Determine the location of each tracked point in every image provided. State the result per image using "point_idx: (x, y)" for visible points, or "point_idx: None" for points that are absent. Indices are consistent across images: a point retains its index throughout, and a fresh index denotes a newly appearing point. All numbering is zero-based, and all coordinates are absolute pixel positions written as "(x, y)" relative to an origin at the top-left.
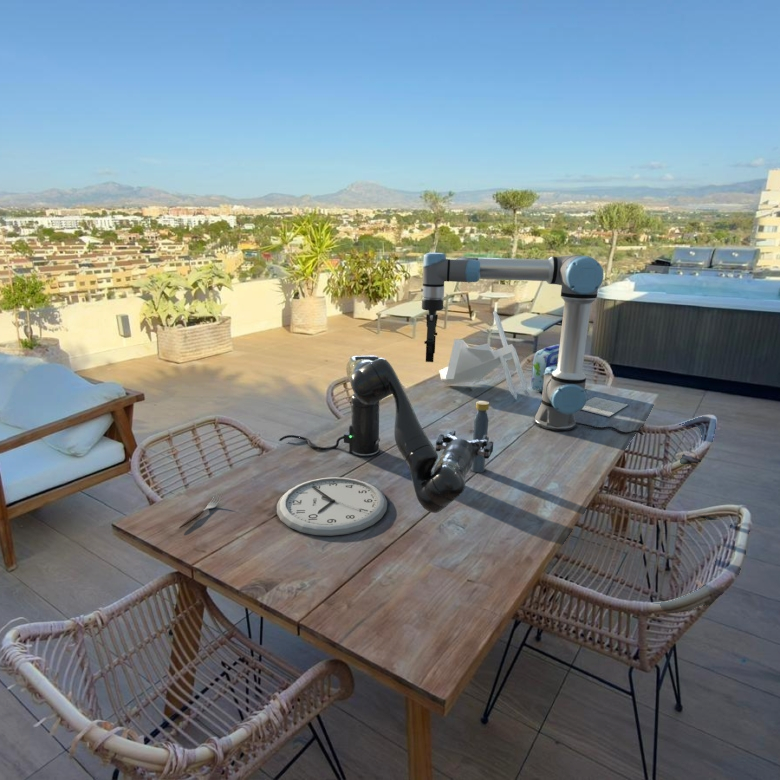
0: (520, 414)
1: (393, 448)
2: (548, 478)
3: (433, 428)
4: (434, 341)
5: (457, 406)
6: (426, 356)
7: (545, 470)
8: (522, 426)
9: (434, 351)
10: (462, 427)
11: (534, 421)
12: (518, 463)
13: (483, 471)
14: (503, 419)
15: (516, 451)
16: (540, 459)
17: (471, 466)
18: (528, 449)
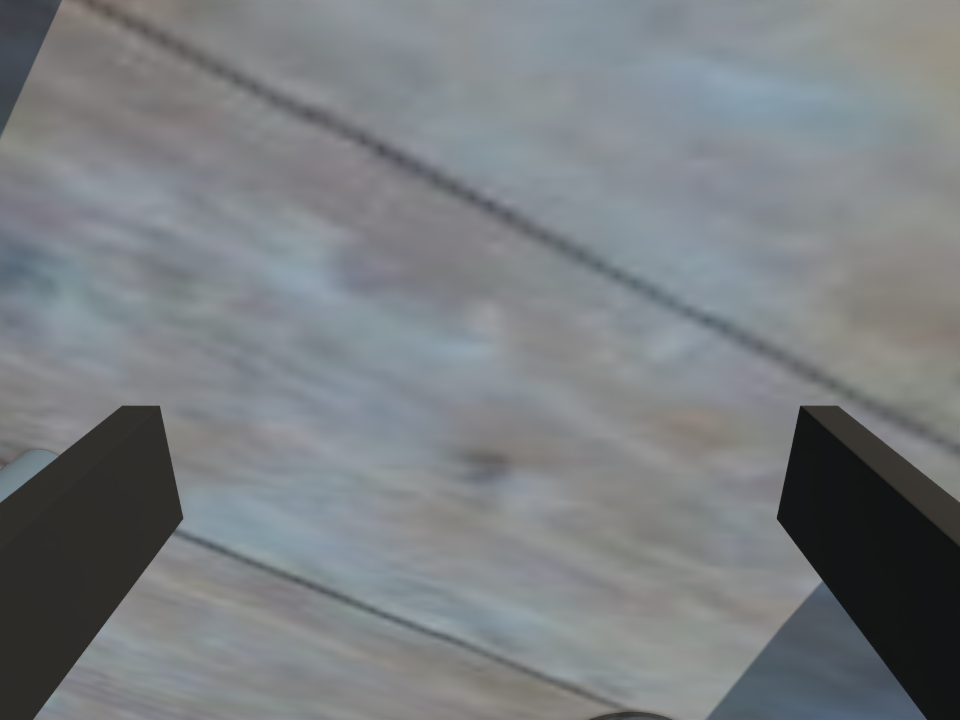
0: (746, 672)
1: (134, 46)
2: (76, 687)
3: (499, 269)
4: (916, 687)
5: (886, 397)
6: (61, 467)
7: (140, 687)
8: (585, 664)
9: (795, 533)
10: (537, 420)
11: (641, 714)
12: (169, 615)
13: None
14: (672, 602)
15: (288, 619)
16: (235, 684)
17: (21, 457)
18: (322, 659)
